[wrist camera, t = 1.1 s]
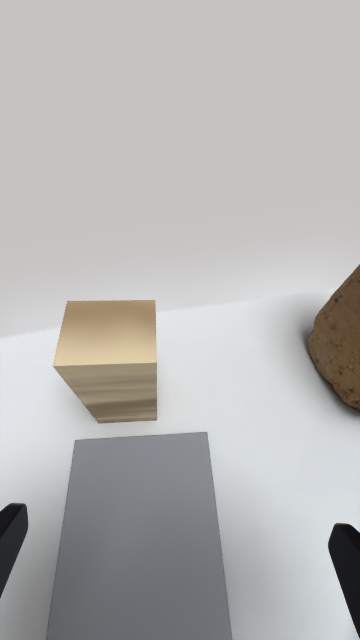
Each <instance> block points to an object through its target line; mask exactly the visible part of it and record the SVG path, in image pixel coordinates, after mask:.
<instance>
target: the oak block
mask: <svg viewBox="0 0 360 640" xmlns="http://www.w3.org/2000/svg"><path fill="white" fill-rule="evenodd" d="M53 367H54V368H55V369H56V371H57V372H58V373H59V374H60V376H61V377H62V378H63V379H64V381H65V382H66V383H67V384H68V386H69V387H70V388H71V389H72V390H73V392H74V393H75V394H76V395H77V397H78V398H79V399H80V400H81V402H82V403H83V404H84V405H85V407H86V408H87V409H88V410H89V411H90V413H91V414H92V415H93V416H94V418H95V419H96V420H97V421H98V423H113V422H131V421H149V420H157V361H156V312H155V300H141V301H140V300H133V301H67V305H66V309H65V314H64V318H63V322H62V327H61V331H60V336H59V340H58V345H57V349H56V354H55V358H54V363H53Z"/></svg>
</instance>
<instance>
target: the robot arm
mask: <svg viewBox="0 0 360 640" xmlns="http://www.w3.org/2000/svg"><path fill="white" fill-rule="evenodd" d="M27 530H28V515H27V506H26V505H25V504H24V503H11V504H9V505H7V506H6V507H5V508H4V509H3V510H1V511H0V597H1V595H2V593H3V590H4V588H5V585H6V583H7V580H8V578H9V575H10V573H11V570H12V568H13V565H14V563H15V561H16V558H17V556H18V553H19V551H20V548H21V546H22V543H23V541H24V538H25V536H26V533H27ZM328 549H329V553H330V556H331V559H332V562H333V565H334V568H335V571H336V574H337V577H338V580H339V582H340V585H341V588H342V591H343V594H344V597H345V600H346V603H347V606H348V609H349V612H350V615H351V617H352V620H353V623H354V626H355V628H356V631H357V633H358V636H359V638H360V533H359V532H358V531H357V530H356V529H355V528H354V527H353V526H351V525H350V524H344V523H336V524H335V525H334V527H333V530H332V533H331V536H330V539H329V542H328Z"/></svg>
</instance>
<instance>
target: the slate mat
mask: <svg viewBox="0 0 360 640" xmlns="http://www.w3.org/2000/svg"><path fill="white" fill-rule="evenodd" d="M46 640H232V634H231V625H230V617H229V609H228V601H227V592H226V584H225V576H224V567H223V559H222V551H221V543H220V534H219V526H218V518H217V509H216V501H215V493H214V485H213V476H212V468H211V460H210V451H209V443H208V435H207V432H199V433H183V434H166V435H150V436H134V437H117V438H101V439H85V440H75V444H74V451H73V458H72V465H71V472H70V479H69V485H68V492H67V499H66V506H65V513H64V520H63V527H62V533H61V540H60V547H59V554H58V561H57V568H56V575H55V582H54V588H53V595H52V602H51V609H50V616H49V623H48V630H47V636H46Z"/></svg>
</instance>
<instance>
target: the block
mask: <svg viewBox="0 0 360 640" xmlns="http://www.w3.org/2000/svg"><path fill="white" fill-rule="evenodd" d="M308 348H309V352H310V354H311V357H312V359H313V361H314V363H315V366H316V368H317V369H318V371H319V372H320V374H321V375H322V376H323V377H324V378H325V379H326V380H327V381H328V382H330V383H331V384H332V385H333V388H334V391H335V392H336V393H337V394H338V395H339V397H340V398H341V399H342V400H343V401H344V402H345V403H347V404H348V405H350V406H352V407H354V408H356V409H358V410H359V411H360V265H359V266H358V267H357V268H356V269H355V270H354V272H353V273H352V274H351V275H350V276H349V277H348V278H347V279H346V281H344V283H343V284H342V285H341V286H340V287H339V288H338V289H337V290H336V291H335V293H334V294H333V295H332V296H331V298H330V300H329V301H328V302H327V303H326V304H325V305H324V307H323V308H322V309H321V310H320V311H319V313H318V314H317V316H316V318H315V321H314V329H313V333H312V334H310V336H309V337H308Z"/></svg>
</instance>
